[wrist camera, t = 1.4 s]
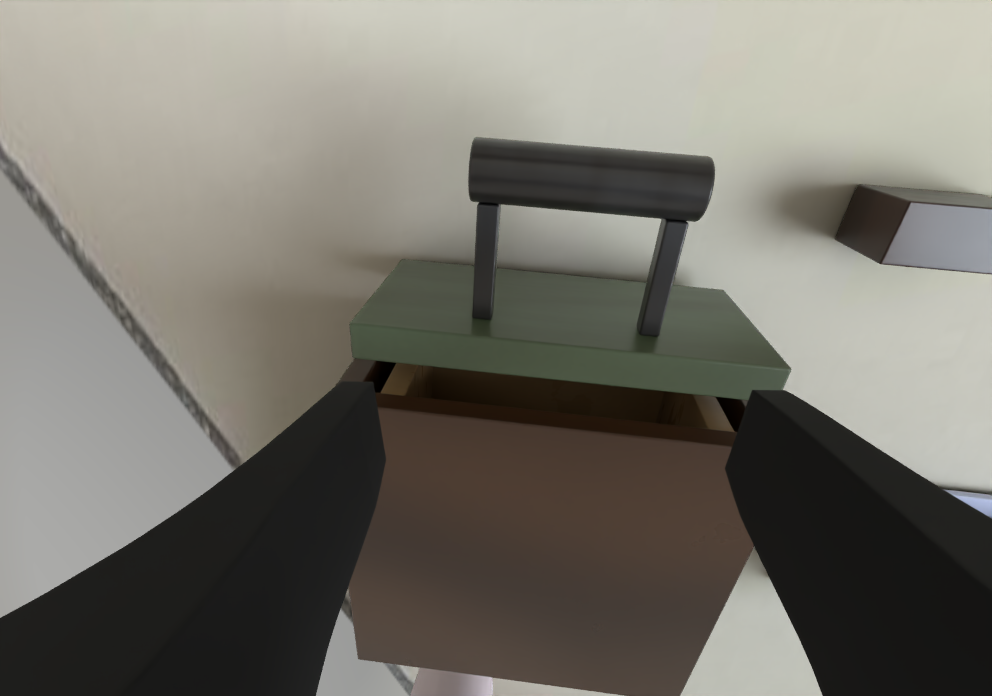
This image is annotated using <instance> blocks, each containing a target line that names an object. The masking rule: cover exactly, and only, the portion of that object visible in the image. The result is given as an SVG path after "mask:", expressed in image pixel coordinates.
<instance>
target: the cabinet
mask: <svg viewBox="0 0 992 696" xmlns="http://www.w3.org/2000/svg"><path fill="white" fill-rule="evenodd" d="M395 365H396V363H393V362H384V361H374V360H365V359H356V358H355V359H354V360H353V362H352V363H351V364H350V366H349V367H348V369H347V370H346V372H345V373H344V374H343V376H342V377H341V379H340V380H339V382H338V383H337V385H338V384H339V383H341V382H342V381H358V382H373V383H374V389H375V395H376V401H377V407H378V413H379V419H380V425H381V431H382V437H383V443H384V449H385V456H386V463H385V468H384V473H383V477H382V482H381V487H380V491H379V496H378V500H377V505H376V508H375V511H374V514H373V517H372V520H371V523H370V526H369V529H368V532H367V535H366V538H365V540H364V543H363V546H362V549H361V552H360V555H359V558H358V560H357V563H356V566H355V569H354V572H353V574H352V577H351V580H350V583H349V586H348V587H349V594H350V602H351V609H352V617H353V624H354V631H355V639H356V647H357V655H358V659H360V660H368V661H375V662H383V663H390V664H397V665H405V666H412V667H419V668H427V669H434V670H441V671H449V672H456V673H463V674H471V675H478V676H485V677H493V678H500V679H507V680H515V681H522V682H530V683H537V684H544V685H552V686H559V687H566V688H574V689H581V690H588V691H596V692H603V693H610V694H618V695H625V696H680V695H681V693H682V691H683V689H684V687H685V685H686V683H687V681H688V679H689V677H690V675H691V673H692V671H693V669H694V667H695V665H696V663H697V661H698V658H699V656H700V654H701V652H702V650H703V648H704V646H705V644H706V642H707V640H708V638H709V636H710V634H711V632H712V630H713V628H714V626H715V624H716V622H717V620H718V618H719V616H720V614H721V612H722V610H723V608H724V606H725V604H726V602H727V600H728V598H729V596H730V594H731V592H732V590H733V588H734V586H735V584H736V582H737V580H738V578H739V576H740V574H741V572H742V570H743V568H744V566H745V564H746V562H747V560H748V557H749V555H750V553H751V551H752V549H753V547H754V545H753V542H752V540H751V538H750V536H749V534H748V532H747V530H746V528H745V526H744V523H743V521H742V519H741V517H740V514H739V511H738V508H737V505H736V502H735V499H734V497H733V493H732V490H731V487H730V484H729V480H728V477H727V474H726V471H725V466H726V463H727V460H728V458H729V455H730V452H731V449H732V446H733V443H734V440H735V437H736V435H737V432H738V429H739V426H740V423H741V420H742V417H743V414H744V412H745V409H746V406H747V403H748V400H741V399H732V398H722V397H716V399H717V401H718V402H719V404H720V406H721V408H722V410H723V412H724V413H725V415H726V417H727V419H728V421H729V423H730V424H731V426H732V428H733V430H734V432H732V431H723V430H714V429H704V428H695V427H686V426H677V425H668V424H659V423H650V422H641V421H631V420H622V419H613V418H604V417H595V416H586V415H577V414H567V413H558V412H549V411H540V410H531V409H522V408H513V407H504V406H494V405H485V404H476V403H467V402H458V401H449V400H440V399H431V398H421V397H412V396H403V395H394V394H385V393H381V391H382V389H383V387H384V385H385V383H386V381H387V380H388V378H389V376H390V374H391V372H392V370H393V368H394V366H395ZM337 385H336V386H337ZM336 386H335V387H336Z"/></svg>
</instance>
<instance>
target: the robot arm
mask: <svg viewBox="0 0 992 696" xmlns="http://www.w3.org/2000/svg"><path fill="white" fill-rule="evenodd" d="M385 463H386V456H385V449H384V443H383V437H382V431H381V425H380V419H379V413H378V407H377V401H376V395H375V389H374V383H373V382H358V381H342V382H341V383H339V384H338V385H337V386H336V387H334V388H333V389H332V390H331V391H330V392H328V393H327V394H326V395H325V396H324V397H323V398H322V399H320V400H319V401H318V402H317V403H316V404H315V405H313V406H312V407H311V408H310V409H309V410H308V411H307V412H305V413H304V414H303V415H302V416H301V417H300V418H298V419H297V420H296V421H295V422H294V423H292V424H291V425H290V426H289V427H288V428H287V429H285V430H284V431H283V432H282V433H281V434H279V435H278V436H277V437H276V438H275V439H273V440H272V441H271V442H270V443H269V444H267V445H266V446H265V447H264V448H263V449H261V450H260V451H259V452H258V453H256V454H255V455H254V456H252V457H251V458H250V459H249V460H247V461H246V462H245V463H243V464H242V465H241V466H239V467H238V468H237V469H236V470H234V471H233V472H232V473H230V474H229V475H228V476H226V477H225V478H224V479H223V480H221V481H220V482H219V483H217V484H216V485H215V486H214V487H212V488H211V489H210V490H208V491H207V492H205V493H204V494H203V495H201V496H200V497H198V498H197V499H196V500H194V501H193V502H192V503H190V504H189V505H187V506H186V507H184V508H183V509H181V510H180V511H178V512H177V513H176V514H174V515H173V516H171V517H170V518H168V519H166V520H165V521H163V522H162V523H161V524H159V525H157V526H156V527H154V528H153V529H151V530H150V531H148V532H147V533H145V534H144V535H142V536H141V537H139V538H137V539H136V540H134V541H133V542H131V543H130V544H128V545H126V546H125V547H123V548H122V549H120V550H118V551H116V552H115V553H113V554H111V555H110V556H108V557H106V558H105V559H103V560H101V561H99V562H98V563H96V564H94V565H93V566H91V567H89V568H88V569H86V570H84V571H83V572H81V573H79V574H77V575H76V576H74V577H72V578H71V579H69V580H67V581H66V582H64V583H62V584H60V585H59V586H57V587H55V588H54V589H52V590H50V591H49V592H47V593H45V594H44V595H42V596H40V597H38V598H36V599H34V600H33V601H31V602H29V603H27V604H25V605H23V606H22V607H20V608H18V609H16V610H14V611H12V612H10V613H9V614H7V615H5V616H3V617H1V618H0V696H316V692H317V688H318V684H319V680H320V676H321V672H322V668H323V665H324V661H325V657H326V653H327V648H328V646H329V642H330V639H331V636H332V633H333V629H334V626H335V622H336V620H337V617H338V614H339V611H340V608H341V606H342V603H343V600H344V597H345V594H346V591H347V589H348V586H349V583H350V580H351V577H352V574H353V572H354V569H355V566H356V563H357V560H358V558H359V555H360V552H361V549H362V546H363V543H364V540H365V538H366V535H367V532H368V529H369V526H370V523H371V520H372V517H373V514H374V511H375V508H376V505H377V500H378V496H379V491H380V487H381V482H382V477H383V473H384V468H385ZM725 471H726V474H727V477H728V480H729V484H730V487H731V490H732V493H733V497H734V499H735V502H736V505H737V508H738V511H739V514H740V517H741V519H742V521H743V523H744V526H745V528H746V530H747V532H748V534H749V536H750V538H751V540H752V542H753V545H754V547H755V549H756V551H757V553H758V555H759V557H760V559H761V561H762V563H763V565H764V567H765V569H766V571H767V573H768V575H769V578H770V580H771V582H772V584H773V586H774V588H775V590H776V592H777V594H778V596H779V598H780V600H781V602H782V604H783V606H784V608H785V610H786V612H787V614H788V616H789V618H790V620H791V623H792V625H793V627H794V629H795V631H796V633H797V635H798V637H799V639H800V641H801V644H802V646H803V648H804V650H805V653H806V655H807V657H808V659H809V662H810V664H811V666H812V669H813V671H814V674H815V676H816V679H817V682H818V684H819V687H820V690H821V692H822V695H823V696H992V495H988V494H979V493H971V492H962V491H953V490H944V489H941V488H940V487H938V486H936V485H935V484H933V483H932V482H930V481H928V480H927V479H925V478H923V477H922V476H920V475H919V474H917V473H915V472H914V471H912V470H911V469H909V468H908V467H906V466H904V465H903V464H901V463H900V462H898V461H896V460H895V459H893V458H892V457H890V456H889V455H887V454H886V453H884V452H882V451H881V450H879V449H878V448H876V447H875V446H873V445H872V444H870V443H869V442H867V441H865V440H864V439H862V438H861V437H859V436H858V435H856V434H855V433H853V432H852V431H850V430H849V429H847V428H846V427H844V426H842V425H841V424H839V423H838V422H836V421H835V420H833V419H832V418H830V417H829V416H827V415H825V414H824V413H822V412H821V411H819V410H818V409H816V408H814V407H813V406H811V405H810V404H808V403H806V402H805V401H803V400H801V399H800V398H798V397H796V396H794V395H793V394H791V393H789V392H787V391H785V390H752V391H751V394H750V397H749V400H748V403H747V406H746V409H745V412H744V414H743V417H742V420H741V423H740V426H739V429H738V432H737V435H736V437H735V440H734V443H733V446H732V449H731V452H730V455H729V458H728V460H727V463H726V466H725Z"/></svg>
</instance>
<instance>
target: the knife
mask: <svg viewBox="0 0 992 696" xmlns="http://www.w3.org/2000/svg"><path fill="white" fill-rule="evenodd" d="M835 240H837V241H838V242H840V243H842V244H844V245H846V246H848V247H850V248H851V249H853V250H855V251H857V252H859V253H861V254H863V255H864V256H866V257H868V258H870V259H872V260H874V261H876V262H877V263H879V264H884V265H895V266H906V267H917V268H927V269H938V270H949V271H960V272H971V273H982V274H992V197H989V196H985V195H980V194H968V193H957V192H945V191H933V190H921V189H910V188H898V187H886V186H874V185H863V184H859V185H858V186H857V188H856V190H855V192H854V195H853V197H852V200H851V202H850V204H849V207H848V209H847V211H846V214H845V216H844V219H843V221H842V223H841V226H840V228H839V230H838V233H837V235H836V238H835Z"/></svg>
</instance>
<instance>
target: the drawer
mask: <svg viewBox="0 0 992 696" xmlns="http://www.w3.org/2000/svg"><path fill="white" fill-rule="evenodd" d="M714 179H715V166H714V162H713V160H712V158H710V157H708V156H696V155H684V154H672V153H660V152H648V151H636V150H624V149H613V148H601V147H589V146H577V145H565V144H553V143H541V142H529V141H517V140H505V139H493V138H481V137H476V138H474V140H473V142H472V146H471V152H470V161H469V177H468V187H469V197H470V200H471V201H472V202H479V203H478V205H477V222H476V243H475V264H474V266H469V265H458V264H448V263H437V262H427V261H417V260H406V259H402V260H401V261H400V262H399V264H398V265H397V266H396V267H395V268H394V270H393V271H392V272H391V273H390V275H389V276H388V277H387V278H386V279H385V281H384V282H383V283H382V284H381V286H380V287H379V288H378V289H377V290H376V292H375V293H374V294H373V295H372V297H371V298H370V299H369V300H368V301H367V303H366V304H365V305H364V306H363V308H362V309H361V310H360V311H359V312H358V314H357V315H356V316H355V317H354V319H353V320H352V321H351V322H350V324H349V325H350V336H351V347H352V357H353V358H356V359H365V360H374V361H384V362H393V363H396V365H395V366H394V368H393V370H392V372H391V374H390V376H389V378H388V380H387V381H386V383H385V385H384V387H383V389H382V391H381V393H385V394H394V395H403V396H412V397H421V398H431V399H440V400H449V401H458V402H467V403H476V404H485V405H494V406H504V407H513V408H522V409H531V410H540V411H549V412H558V413H567V414H577V415H586V416H595V417H604V418H613V419H622V420H631V421H641V422H650V423H659V424H668V425H677V426H686V427H695V428H704V429H714V430H723V431H732V432H734V430H733V428H732V426H731V424H730V423H729V421H728V419H727V417H726V415H725V413H724V412H723V410H722V408H721V406H720V404H719V402H718V401H717V399H716V397H722V398H732V399H741V400H749V397H750V394H751V391H752V390H783V388H784V385H785V383H786V381H787V379H788V376H789V374H790V372H791V368H790V367H789V365H788V364H787V363H786V362H785V361H784V360H783V358H782V357H781V356H780V355H779V354H778V353H777V352H776V350H775V349H774V348H773V347H772V346H771V345H770V343H769V342H768V341H767V340H766V339H765V338H764V336H763V335H762V334H761V333H760V332H759V331H758V330H757V328H756V327H755V326H754V325H753V324H752V323H751V321H750V320H749V319H748V318H747V317H746V316H745V314H744V313H743V312H742V311H741V310H740V309H739V307H738V306H737V305H736V304H735V303H734V302H733V301H732V299H731V298H730V297H729V296H728V295H727V294H726V292H725V291H724V290H718V289H708V288H697V287H687V286H677V285H673V281H674V278H675V274H676V270H677V266H678V263H679V259H680V255H681V251H682V247H683V244H684V240H685V236H686V232H687V229H688V223H687V222H686V221H693V222H695V221H698V220H699V219H700V218H701V217H702V216H703V215H704V213H705V211H706V209H707V207H708V204H709V202H710V199H711V195H712V191H713V186H714ZM501 204H504V205H515V206H526V207H537V208H548V209H559V210H570V211H582V212H593V213H604V214H615V215H626V216H637V217H648V218H659V219H661V224H660V228H659V232H658V236H657V241H656V245H655V249H654V253H653V258H652V262H651V266H650V270H649V275H648V279H647V283H645V282H635V281H625V280H614V279H604V278H593V277H583V276H573V275H562V274H552V273H541V272H531V271H521V270H510V269H500V268H496V266H497V252H498V238H499V224H500V210H501Z"/></svg>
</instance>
